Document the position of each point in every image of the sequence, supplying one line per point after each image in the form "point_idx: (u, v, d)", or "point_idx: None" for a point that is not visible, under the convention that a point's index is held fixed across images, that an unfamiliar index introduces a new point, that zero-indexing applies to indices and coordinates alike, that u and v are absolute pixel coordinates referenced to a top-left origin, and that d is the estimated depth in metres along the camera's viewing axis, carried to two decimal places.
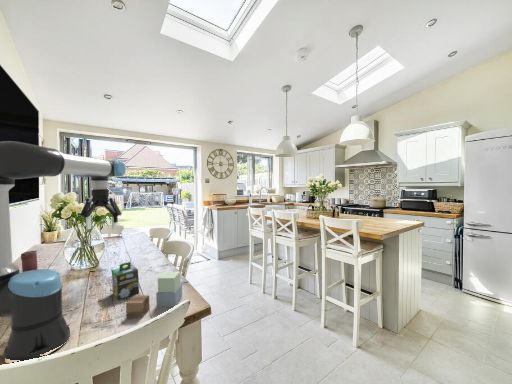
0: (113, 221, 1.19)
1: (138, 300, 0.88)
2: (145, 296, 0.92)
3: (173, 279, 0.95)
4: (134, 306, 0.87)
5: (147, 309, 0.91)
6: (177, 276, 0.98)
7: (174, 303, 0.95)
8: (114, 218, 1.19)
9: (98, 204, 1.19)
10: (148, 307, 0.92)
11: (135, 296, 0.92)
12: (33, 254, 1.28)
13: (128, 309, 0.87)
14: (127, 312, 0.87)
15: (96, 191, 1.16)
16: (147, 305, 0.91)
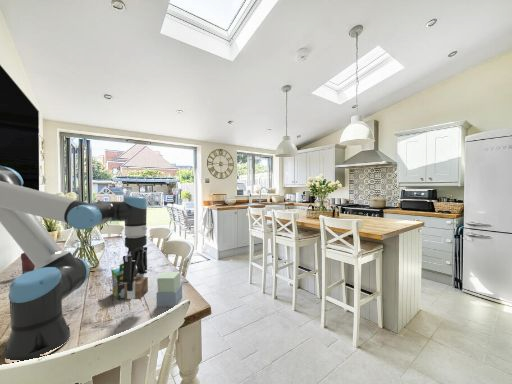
0: None
1: (136, 281, 0.88)
2: (143, 278, 0.91)
3: (172, 279, 0.95)
4: None
5: (145, 291, 0.91)
6: (176, 276, 0.98)
7: (174, 303, 0.95)
8: None
9: None
10: (146, 289, 0.91)
11: (134, 277, 0.92)
12: None
13: (126, 289, 0.86)
14: (125, 292, 0.86)
15: None
16: (145, 286, 0.90)
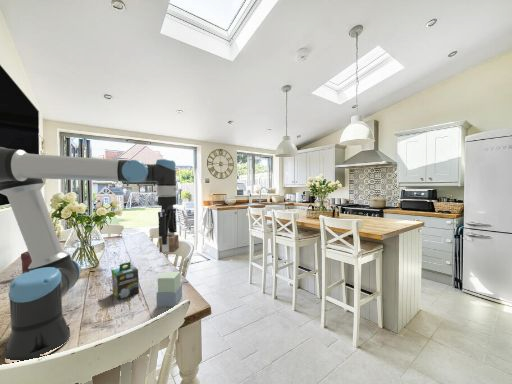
0: None
1: (169, 237, 0.96)
2: (175, 235, 1.00)
3: (173, 279, 0.95)
4: None
5: (177, 246, 0.99)
6: (177, 276, 0.98)
7: (174, 303, 0.95)
8: None
9: None
10: (178, 245, 1.00)
11: None
12: None
13: (161, 244, 0.95)
14: (160, 246, 0.95)
15: None
16: (177, 242, 0.99)
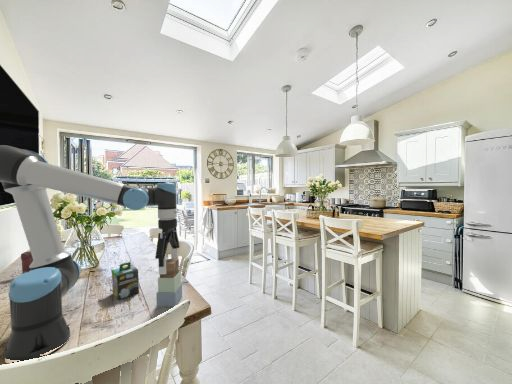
0: None
1: (170, 262, 0.97)
2: (175, 259, 1.00)
3: (173, 279, 0.95)
4: (167, 267, 0.95)
5: (177, 271, 0.99)
6: (177, 276, 0.98)
7: (174, 303, 0.95)
8: None
9: None
10: (178, 269, 1.00)
11: (166, 259, 1.00)
12: None
13: None
14: None
15: None
16: (177, 267, 0.99)
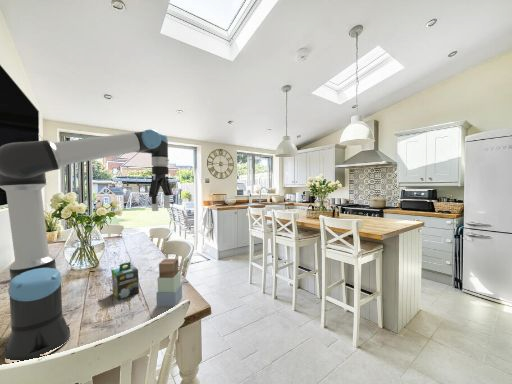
0: None
1: (169, 262, 0.97)
2: (175, 259, 1.00)
3: (172, 279, 0.95)
4: (166, 267, 0.95)
5: (177, 271, 0.99)
6: (176, 276, 0.98)
7: (174, 303, 0.95)
8: None
9: None
10: (177, 269, 1.00)
11: (166, 259, 1.00)
12: None
13: (161, 269, 0.95)
14: (160, 272, 0.95)
15: None
16: (177, 267, 0.99)
